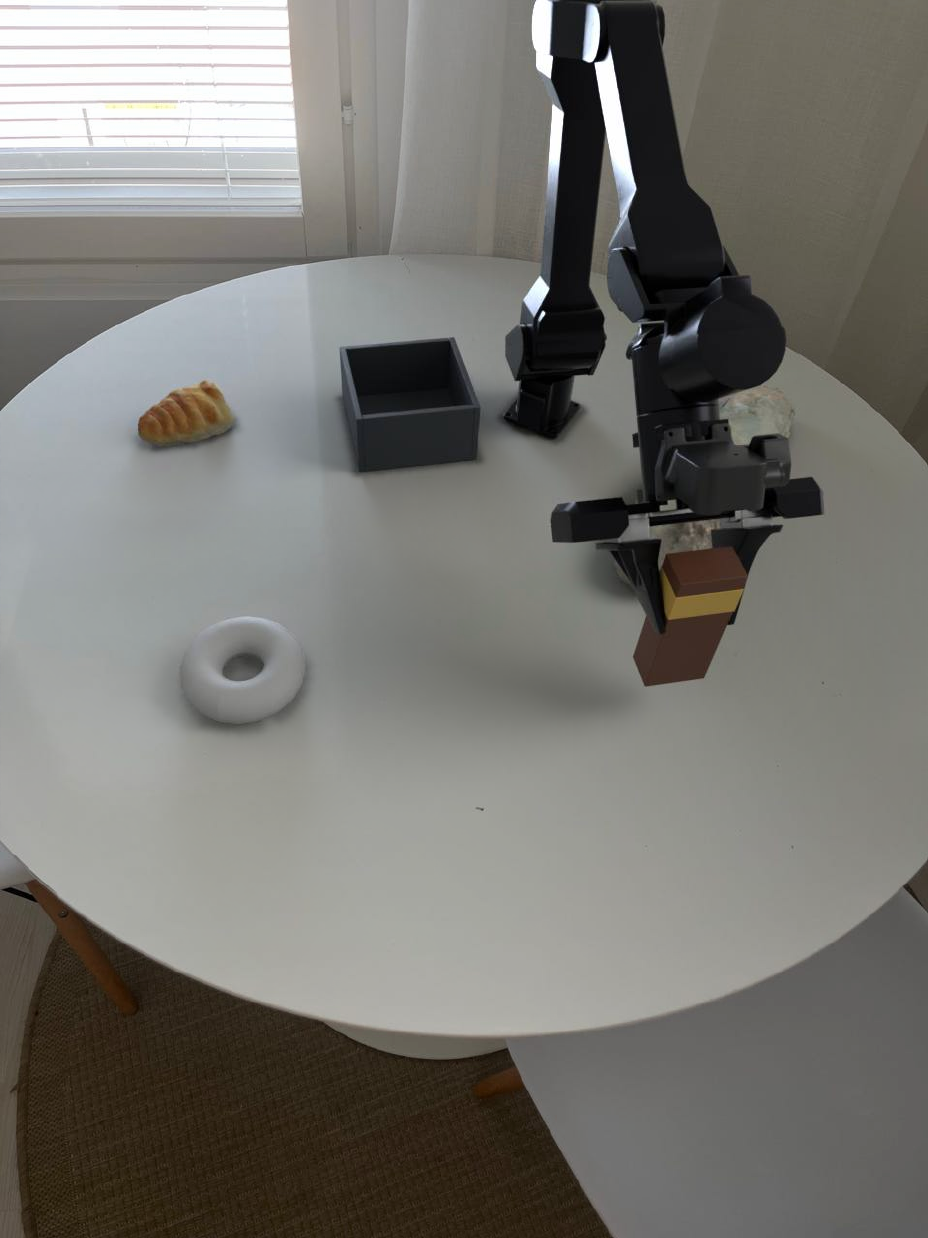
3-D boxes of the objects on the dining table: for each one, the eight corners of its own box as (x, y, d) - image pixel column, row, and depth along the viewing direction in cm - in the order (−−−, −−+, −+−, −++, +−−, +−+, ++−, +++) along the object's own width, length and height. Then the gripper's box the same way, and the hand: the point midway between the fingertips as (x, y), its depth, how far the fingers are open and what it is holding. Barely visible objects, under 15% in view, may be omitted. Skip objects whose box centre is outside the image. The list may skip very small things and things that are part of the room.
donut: (308, 632, 78) (189, 634, 77) (306, 606, 76) (182, 608, 74) (305, 730, 72) (175, 734, 71) (302, 706, 69) (167, 710, 68)
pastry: (158, 462, 91) (149, 431, 88) (128, 427, 94) (119, 397, 91) (241, 428, 95) (235, 397, 92) (209, 396, 98) (203, 365, 95)
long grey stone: (808, 433, 101) (724, 404, 105) (824, 391, 97) (736, 363, 101) (685, 618, 80) (585, 574, 84) (698, 575, 76) (593, 530, 80)
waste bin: (451, 388, 101) (454, 336, 96) (476, 459, 94) (480, 407, 89) (342, 398, 99) (339, 346, 94) (359, 472, 91) (356, 419, 86)
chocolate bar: (631, 656, 73) (664, 552, 63) (691, 648, 73) (732, 544, 64) (644, 688, 71) (680, 585, 61) (705, 679, 72) (749, 576, 62)
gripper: (587, 407, 55) (609, 660, 57) (865, 383, 58) (879, 623, 60) (539, 429, 66) (559, 640, 68) (775, 407, 69) (789, 610, 71)
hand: (694, 629), depth 66 cm, fingers closed on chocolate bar, 5 cm apart
